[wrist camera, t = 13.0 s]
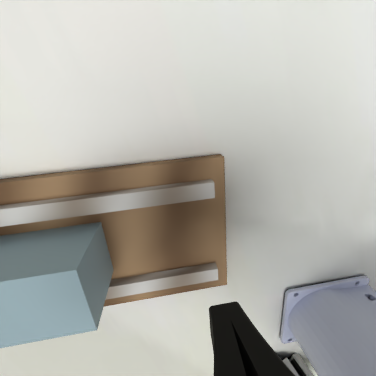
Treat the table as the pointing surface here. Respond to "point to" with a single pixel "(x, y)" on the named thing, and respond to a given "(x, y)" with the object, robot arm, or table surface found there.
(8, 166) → the table surface
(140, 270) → the boss board
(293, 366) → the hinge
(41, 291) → the panel block
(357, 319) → the robot arm
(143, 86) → the table surface
